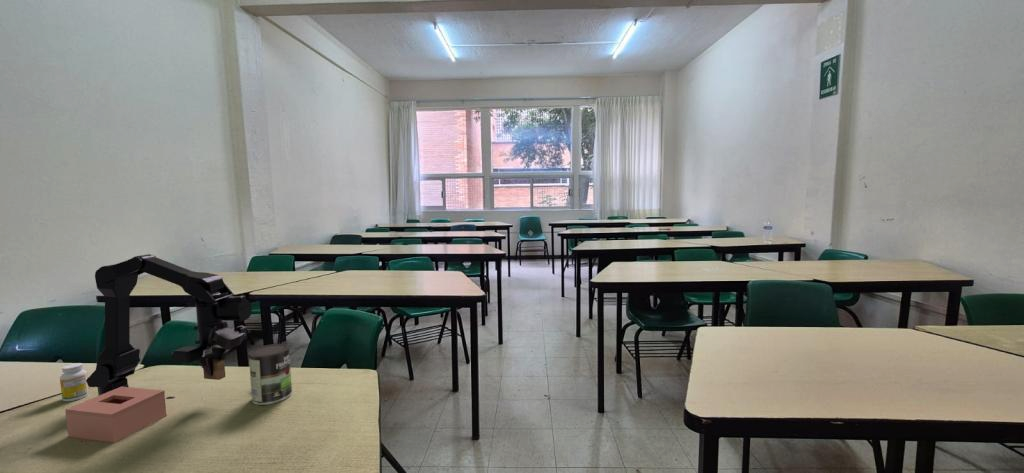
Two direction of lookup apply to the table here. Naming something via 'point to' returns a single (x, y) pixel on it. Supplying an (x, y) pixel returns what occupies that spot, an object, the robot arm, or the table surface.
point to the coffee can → (270, 373)
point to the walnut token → (216, 370)
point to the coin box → (115, 414)
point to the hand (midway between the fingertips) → (214, 374)
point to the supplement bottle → (73, 382)
